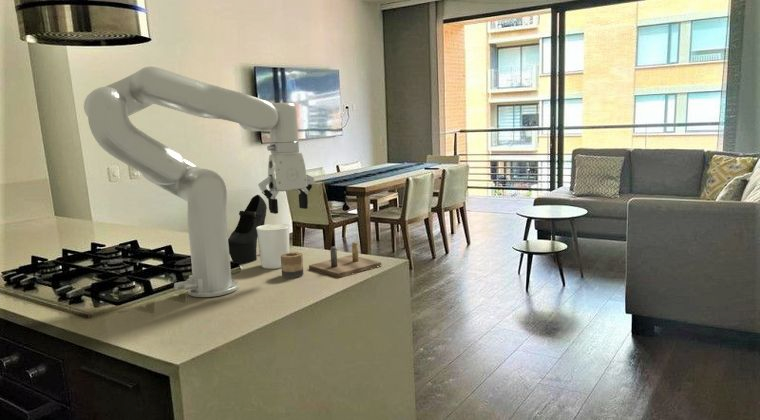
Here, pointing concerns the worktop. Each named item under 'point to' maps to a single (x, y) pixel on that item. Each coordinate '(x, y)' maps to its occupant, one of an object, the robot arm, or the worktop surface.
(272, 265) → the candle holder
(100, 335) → the worktop surface
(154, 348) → the worktop surface
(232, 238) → the high-heeled shoe
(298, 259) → the sleeve
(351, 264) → the pin board
